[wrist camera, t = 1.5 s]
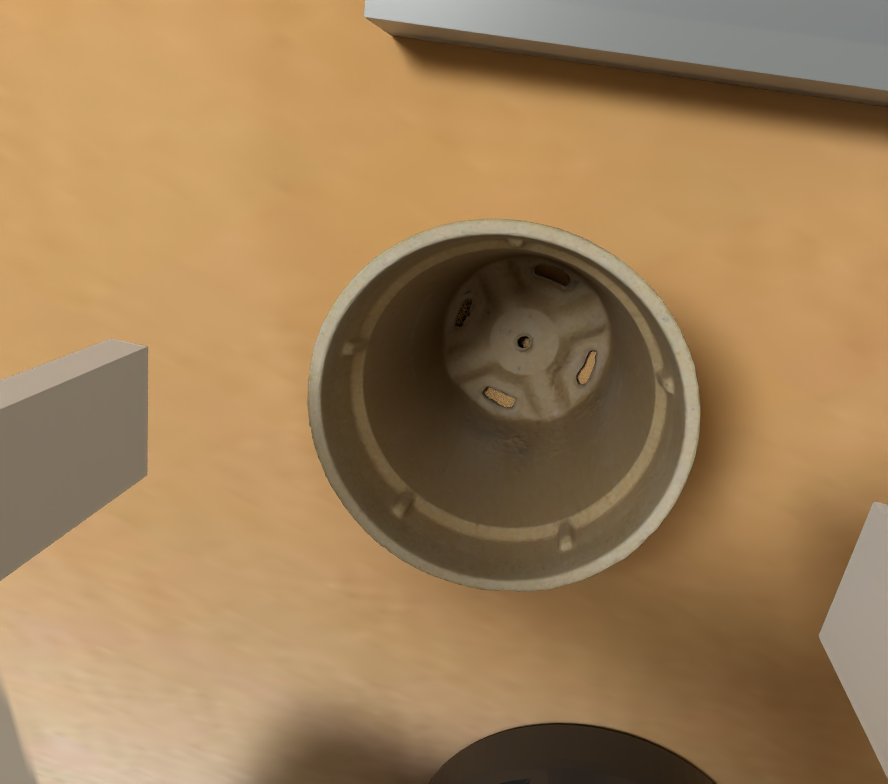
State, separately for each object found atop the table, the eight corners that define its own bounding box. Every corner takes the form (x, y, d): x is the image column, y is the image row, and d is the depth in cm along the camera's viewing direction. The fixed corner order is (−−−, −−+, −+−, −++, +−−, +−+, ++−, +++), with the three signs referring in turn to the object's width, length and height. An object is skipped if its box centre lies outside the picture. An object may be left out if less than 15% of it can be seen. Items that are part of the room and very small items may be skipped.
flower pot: (401, 457, 27) (324, 581, 19) (384, 206, 24) (285, 225, 16) (654, 465, 25) (687, 606, 17) (667, 195, 22) (715, 211, 14)
